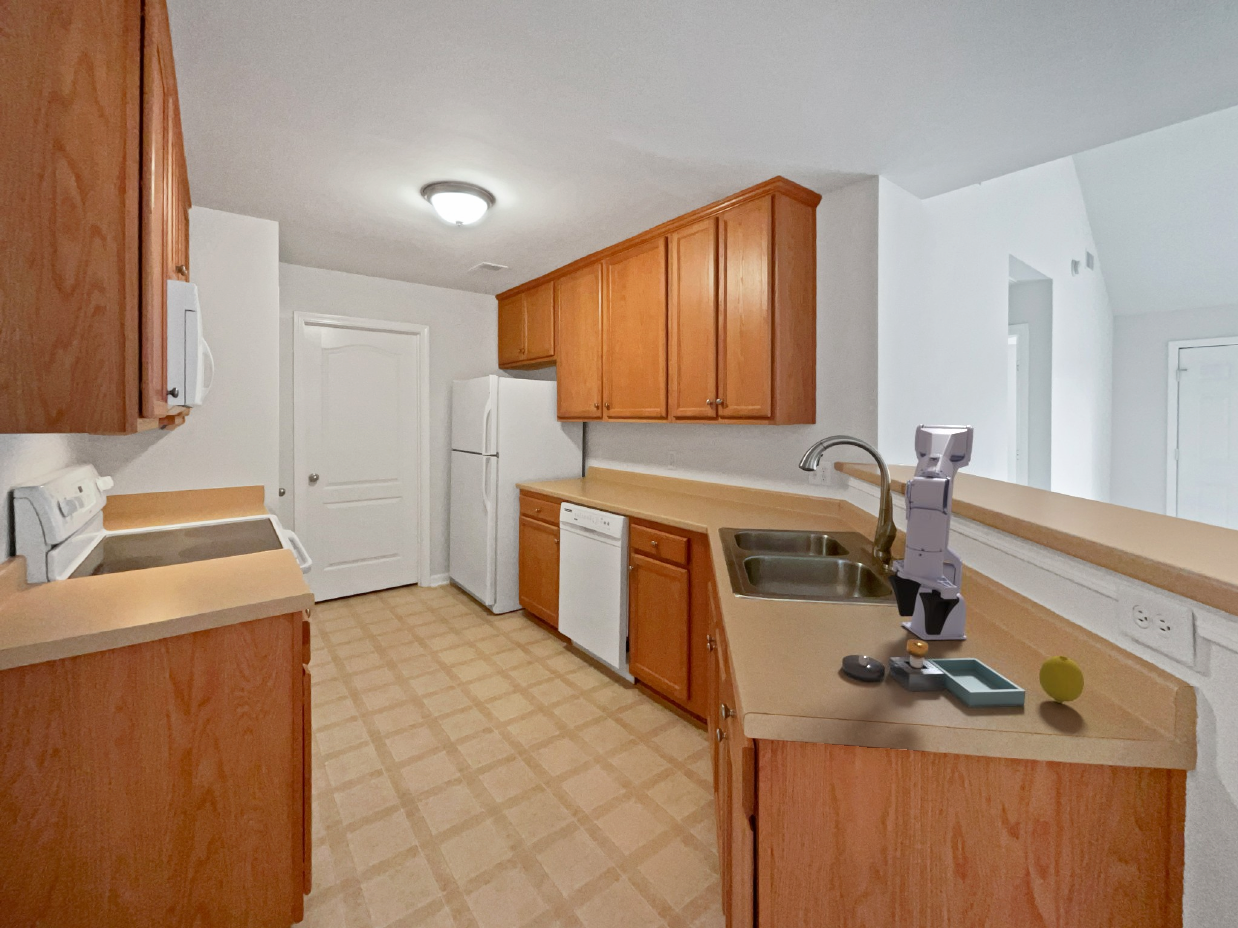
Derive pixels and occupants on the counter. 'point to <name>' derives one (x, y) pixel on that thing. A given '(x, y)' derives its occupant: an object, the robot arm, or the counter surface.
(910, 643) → the lock pin
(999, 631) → the counter surface
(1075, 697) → the lemon
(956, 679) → the tray
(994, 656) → the counter surface
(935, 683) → the dark disc and block
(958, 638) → the robot arm
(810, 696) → the counter surface
